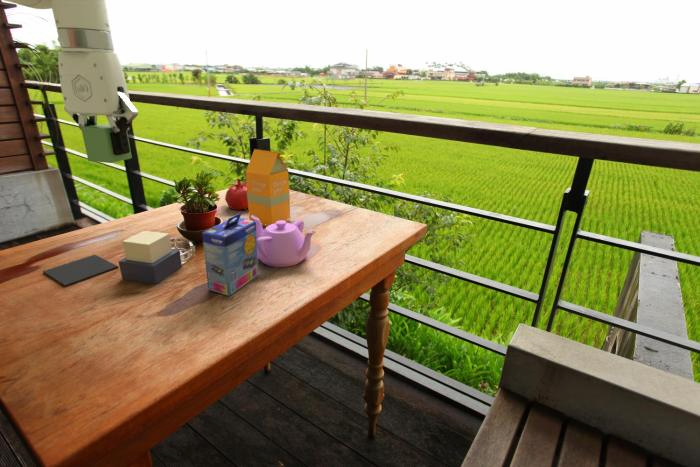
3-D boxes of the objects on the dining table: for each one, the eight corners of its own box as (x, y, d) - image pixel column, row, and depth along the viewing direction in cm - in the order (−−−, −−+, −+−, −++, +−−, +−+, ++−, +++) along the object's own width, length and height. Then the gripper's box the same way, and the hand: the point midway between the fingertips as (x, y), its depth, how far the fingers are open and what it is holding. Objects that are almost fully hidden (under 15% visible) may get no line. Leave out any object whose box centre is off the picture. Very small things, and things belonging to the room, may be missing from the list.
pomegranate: (264, 204, 124) (263, 176, 121) (245, 213, 116) (242, 183, 112) (240, 200, 128) (237, 173, 125) (219, 209, 120) (215, 179, 116)
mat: (43, 272, 80) (42, 271, 79) (95, 256, 87) (94, 254, 87) (65, 287, 74) (64, 285, 74) (118, 267, 82) (118, 266, 82)
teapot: (253, 249, 92) (251, 214, 89) (311, 245, 95) (311, 211, 92) (251, 272, 82) (248, 233, 78) (317, 267, 84) (316, 229, 81)
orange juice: (272, 228, 105) (267, 154, 98) (248, 221, 110) (243, 150, 102) (290, 220, 112) (288, 150, 104) (268, 214, 116) (263, 146, 108)
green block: (88, 161, 70) (80, 126, 68) (110, 156, 75) (103, 124, 72) (111, 163, 69) (104, 128, 67) (132, 158, 74) (126, 125, 71)
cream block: (126, 259, 77) (122, 241, 75) (147, 247, 82) (144, 230, 81) (152, 263, 76) (148, 244, 74) (172, 251, 81) (169, 233, 80)
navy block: (122, 279, 78) (118, 261, 76) (150, 262, 85) (147, 245, 83) (156, 284, 76) (153, 266, 74) (182, 266, 83) (179, 249, 82)
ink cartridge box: (230, 297, 72) (222, 224, 67) (206, 291, 74) (197, 220, 68) (260, 274, 81) (256, 208, 75) (238, 269, 82) (232, 204, 77)
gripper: (24, 40, 63) (53, 153, 70) (111, 41, 59) (133, 160, 66) (65, 44, 70) (88, 146, 77) (146, 45, 66) (163, 152, 73)
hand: (109, 151), depth 71 cm, fingers closed on green block, 5 cm apart
